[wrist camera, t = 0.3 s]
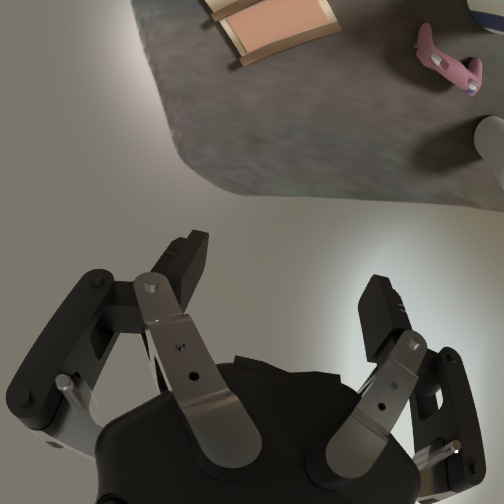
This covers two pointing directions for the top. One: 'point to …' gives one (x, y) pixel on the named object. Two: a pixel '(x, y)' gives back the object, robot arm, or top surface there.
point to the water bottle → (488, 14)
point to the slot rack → (272, 24)
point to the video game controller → (448, 63)
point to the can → (491, 145)
